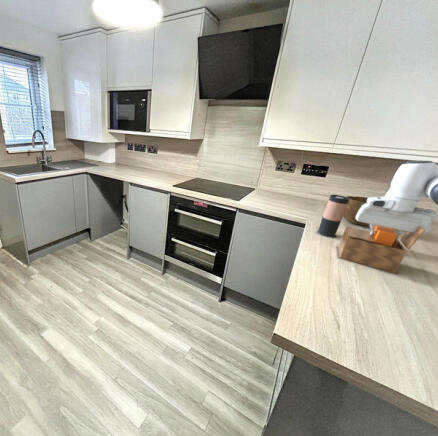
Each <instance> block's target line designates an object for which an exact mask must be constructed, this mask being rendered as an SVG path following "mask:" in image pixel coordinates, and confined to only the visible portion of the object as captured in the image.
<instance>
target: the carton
mask: <svg viewBox="0 0 438 436" xmlns="http://www.w3.org/2000/svg"><path fill="white" fill-rule="evenodd" d="M370 232H371V230H365V229H361V228H357V227H351V226H345V229H344V231H343V234H342V235H341V238H340V241H339V244H338V246H337V249H338V257H339V259H342V260H346V261H350V262H353V263H357V264H360V265H363V266H368V267H371V268H375V269H377V270H382V271H385V272H389V273H392V274H396V273H397V271H398V269H399V267H400V265H401V263H402V261H403V260H404V258H405V256H406V253H408V251H407V249H406V247H405V246H404V245H403V243H402V242H401V241H400V239H398V240H397V241H394V243H393V245H392V247H390V246H386V245H382V244H377V243H376V240H375V238H374V236H373V235H370Z"/></svg>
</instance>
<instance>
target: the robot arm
mask: <svg viewBox="0 0 438 436" xmlns="http://www.w3.org/2000/svg"><path fill="white" fill-rule="evenodd" d="M367 198H368V199H367V203H365V204H363V205H362V206H361V208H360V209H359V211H358V213H357V215H356V220H357V221H359V222H363V223H368V225H369V228H370V235H373V236H375V235H376V233H377V232H376V231H374V227H375V226H376V225H378V226H383V227H387V228H392V229H393V230H398V233H396V234H397V237H396V239H395V241H397V240H399V237H401V236H402V235H404V234H405V233H406V231H407V232H411V233H414V232H415V231H416V230H417V229H418V227H419V226H421V227H422V228H423V229H424V230H425V231H424V233H423V234H422V235H421V236H423V235H426V234H428V233H429V231H430V228H431V226H432V222H434V221H435V219H436V218H437V213H436V212H435V211H433V209H430V208H422V207H418V206H417V205H418V203H419V202H420V199H421V198H426V199H429V200H431V201H432V202H434V203H435V204H436V205H437V206H438V164H436V163H435V161H432V160H409V161H406V162H404V163H402V164H401V165H400V166H399V167H398V169H397V170H396V172H395V173H394V176H393V177H392V180H391V182H390V187H389V188H388V190H387V192H386V193H385V195H383V196H370V197H367Z"/></svg>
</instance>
